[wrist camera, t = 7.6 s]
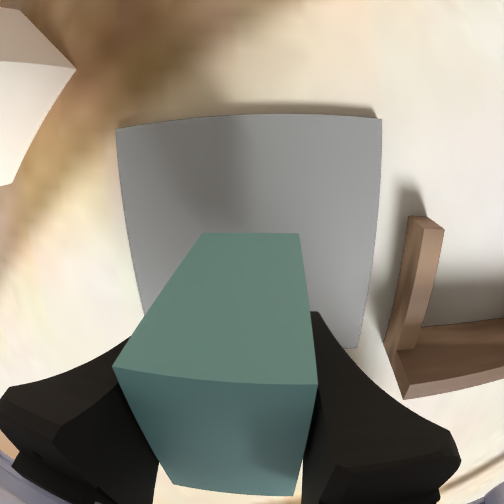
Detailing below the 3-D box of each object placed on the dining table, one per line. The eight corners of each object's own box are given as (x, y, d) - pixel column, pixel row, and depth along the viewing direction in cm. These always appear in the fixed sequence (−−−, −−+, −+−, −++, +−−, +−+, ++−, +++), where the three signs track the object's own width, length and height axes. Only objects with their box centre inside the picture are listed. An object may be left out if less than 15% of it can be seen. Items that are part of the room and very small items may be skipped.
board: (355, 341, 22) (356, 347, 21) (154, 334, 23) (151, 340, 23) (377, 119, 16) (381, 119, 15) (121, 128, 17) (115, 129, 16)
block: (293, 347, 15) (293, 496, 7) (214, 344, 15) (173, 484, 8) (298, 233, 12) (318, 384, 5) (202, 232, 13) (112, 365, 5)
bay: (511, 328, 20) (540, 365, 15) (383, 344, 22) (403, 399, 16) (543, 226, 16) (586, 253, 11) (408, 216, 18) (452, 252, 12)
